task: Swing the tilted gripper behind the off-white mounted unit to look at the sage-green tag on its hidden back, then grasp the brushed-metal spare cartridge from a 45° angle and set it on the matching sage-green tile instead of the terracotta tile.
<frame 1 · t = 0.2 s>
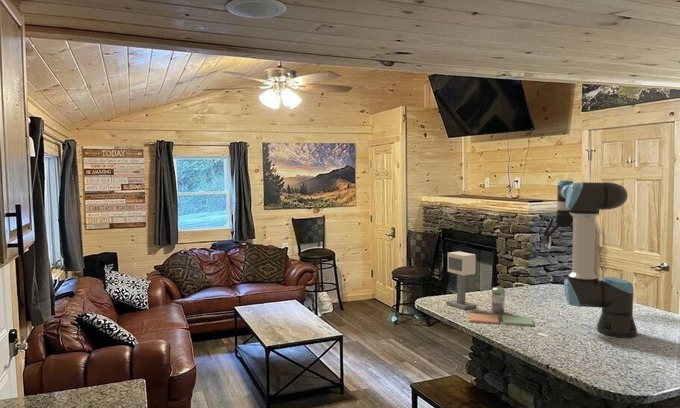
hand: (563, 249, 264), 28 cm above the countertop, tool pointing down, fingers open, 13 cm apart
green tile: (517, 321, 231), on the countertop
mounted unit: (461, 305, 259), on the countertop
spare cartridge: (498, 312, 247), on the countertop
terracotta tile: (483, 319, 235), on the countertop
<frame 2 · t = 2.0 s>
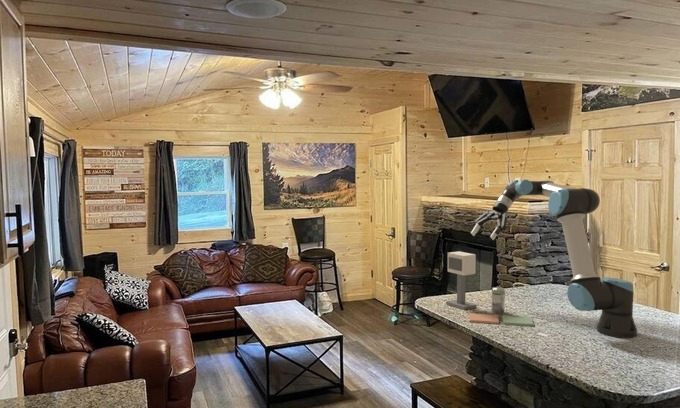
hand: (481, 236, 263), 35 cm above the countertop, tool tilted 45°, fingers open, 13 cm apart
nothing on the countertop moved.
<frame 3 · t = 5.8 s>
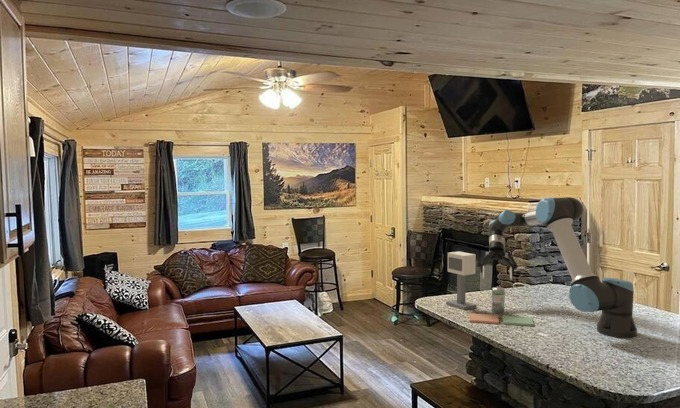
hand: (497, 278, 256), 15 cm above the countertop, tool tilted 45°, fingers open, 13 cm apart
nothing on the countertop moved.
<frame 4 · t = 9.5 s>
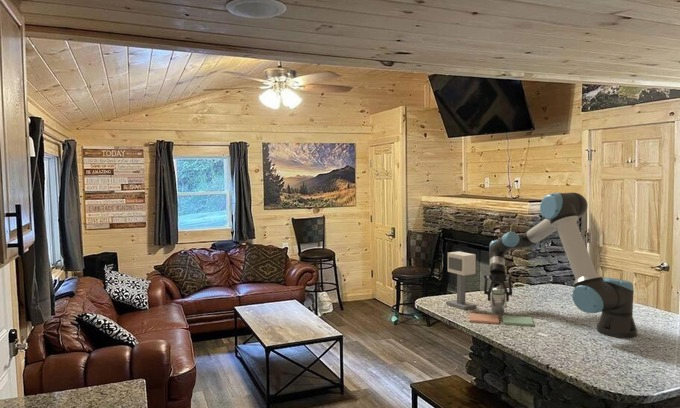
hand: (498, 306, 243), 4 cm above the countertop, tool tilted 45°, fingers closed on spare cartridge, 6 cm apart
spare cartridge: (498, 312, 247), on the countertop, touching gripper
everything else where it was.
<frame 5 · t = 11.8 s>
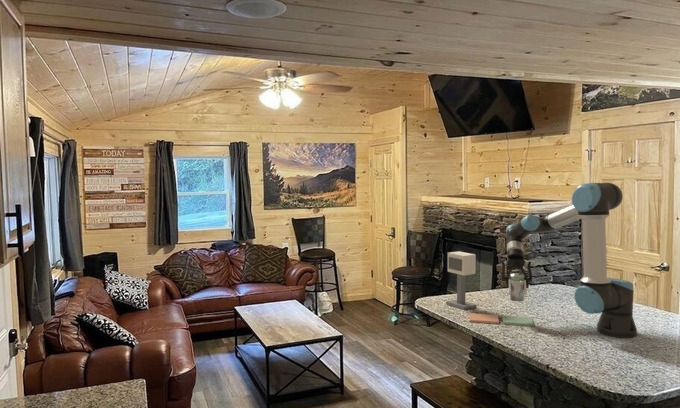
hand: (517, 293, 227), 14 cm above the countertop, tool tilted 45°, fingers closed on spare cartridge, 6 cm apart
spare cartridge: (517, 299, 231), point 10 cm above the countertop, touching gripper
everything else where it was.
when the fingers open (6 cm above the countertop, at t = 14.1 s): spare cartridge drops 1 cm, resting on green tile.
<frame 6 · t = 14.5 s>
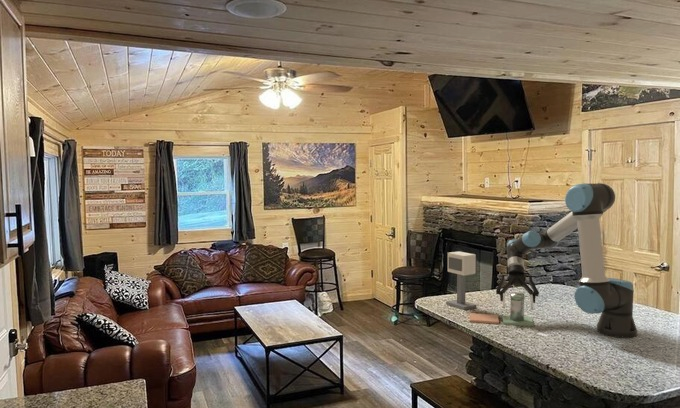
hand: (518, 307, 228), 7 cm above the countertop, tool tilted 45°, fingers open, 11 cm apart
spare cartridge: (517, 319, 231), point 1 cm above the countertop, touching green tile
everything else where it was.
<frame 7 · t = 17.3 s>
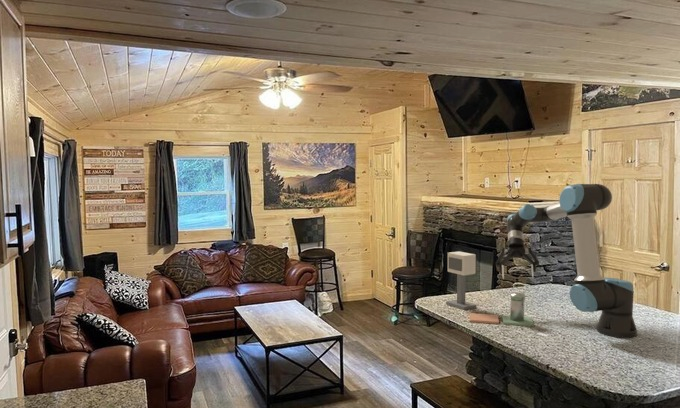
hand: (517, 277, 241), 18 cm above the countertop, tool tilted 40°, fingers open, 13 cm apart
nothing on the countertop moved.
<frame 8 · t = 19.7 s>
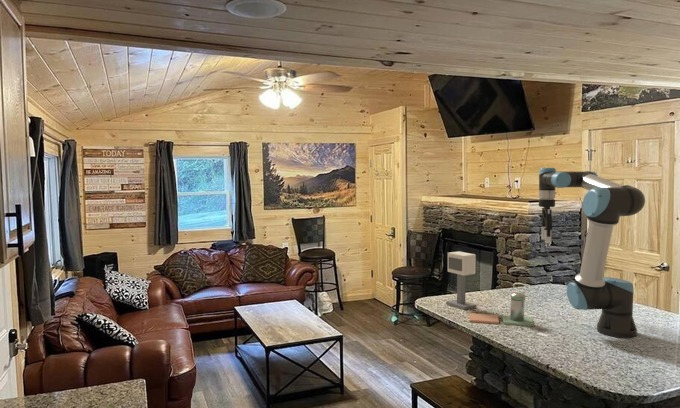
hand: (546, 241, 248), 35 cm above the countertop, tool pointing down, fingers open, 13 cm apart
nothing on the countertop moved.
at the end: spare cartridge inside the target area on the green tile (0.1 cm from its centre), point 1.1 cm above the green tile's base; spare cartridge tilted 2°; the gripper is holding nothing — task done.
